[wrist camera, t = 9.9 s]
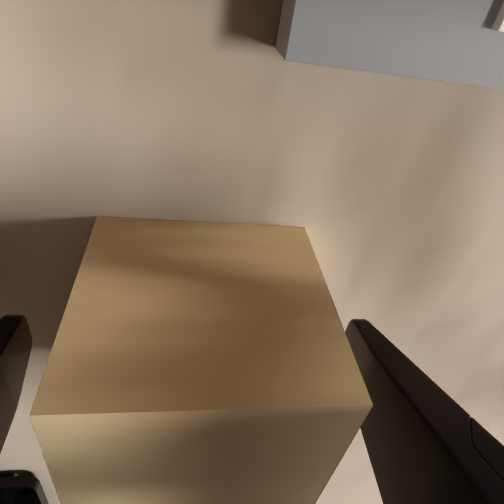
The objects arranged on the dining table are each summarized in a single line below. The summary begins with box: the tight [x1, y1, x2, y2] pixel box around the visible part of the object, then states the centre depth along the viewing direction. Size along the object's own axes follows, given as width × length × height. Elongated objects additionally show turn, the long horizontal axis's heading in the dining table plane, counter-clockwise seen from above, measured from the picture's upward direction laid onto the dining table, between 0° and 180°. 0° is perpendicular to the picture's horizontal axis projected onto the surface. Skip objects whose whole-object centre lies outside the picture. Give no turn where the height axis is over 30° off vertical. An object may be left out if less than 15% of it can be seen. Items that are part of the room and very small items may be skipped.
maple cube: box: [29, 216, 373, 504], centre depth 9 cm, size 5×5×5 cm
